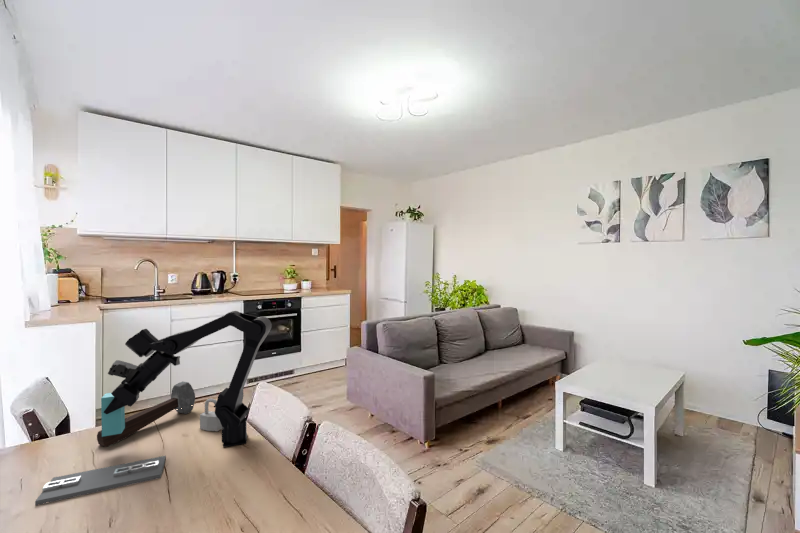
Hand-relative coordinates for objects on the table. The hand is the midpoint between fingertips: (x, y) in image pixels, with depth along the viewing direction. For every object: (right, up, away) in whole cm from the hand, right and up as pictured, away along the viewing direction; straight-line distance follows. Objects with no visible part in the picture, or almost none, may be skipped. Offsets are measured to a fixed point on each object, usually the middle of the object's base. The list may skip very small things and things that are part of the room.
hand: (107, 410), depth 105 cm
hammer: (+1, -13, +17) cm, 21 cm away
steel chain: (+10, -12, -13) cm, 20 cm away
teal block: (+1, -7, +1) cm, 7 cm away
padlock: (+22, -12, +16) cm, 30 cm away
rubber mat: (+10, -13, -13) cm, 21 cm away
